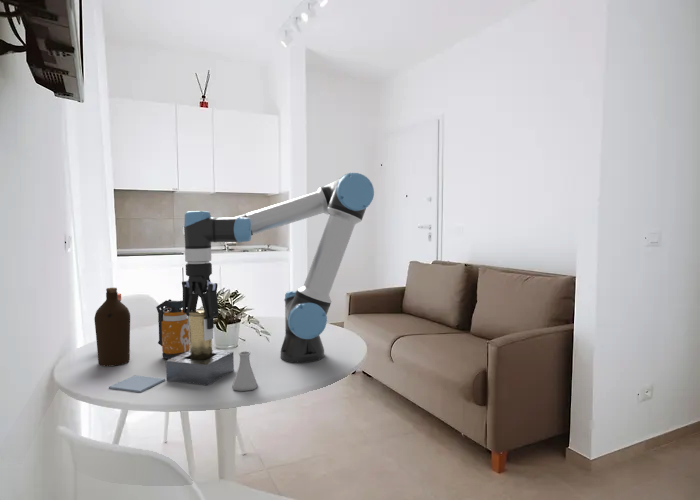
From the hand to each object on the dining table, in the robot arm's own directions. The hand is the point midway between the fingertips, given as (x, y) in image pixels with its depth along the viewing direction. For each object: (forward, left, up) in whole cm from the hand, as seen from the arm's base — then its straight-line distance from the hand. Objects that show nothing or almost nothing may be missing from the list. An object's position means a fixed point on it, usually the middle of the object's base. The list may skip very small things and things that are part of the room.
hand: (200, 337), depth 140 cm
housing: (0, 0, -12) cm, 12 cm away
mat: (+13, +12, -12) cm, 21 cm away
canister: (+21, -14, -12) cm, 28 cm away
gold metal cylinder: (0, 0, -8) cm, 8 cm away
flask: (-18, +5, -12) cm, 22 cm away
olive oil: (+36, -3, -12) cm, 38 cm away
